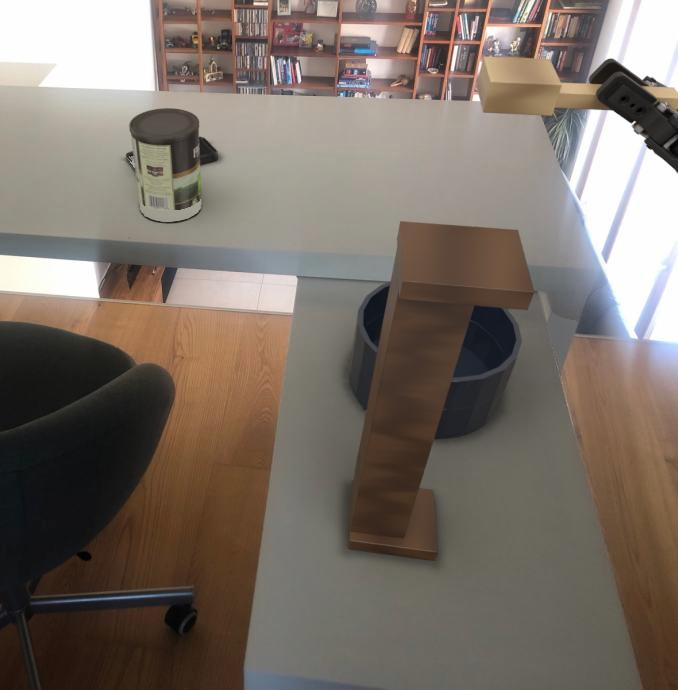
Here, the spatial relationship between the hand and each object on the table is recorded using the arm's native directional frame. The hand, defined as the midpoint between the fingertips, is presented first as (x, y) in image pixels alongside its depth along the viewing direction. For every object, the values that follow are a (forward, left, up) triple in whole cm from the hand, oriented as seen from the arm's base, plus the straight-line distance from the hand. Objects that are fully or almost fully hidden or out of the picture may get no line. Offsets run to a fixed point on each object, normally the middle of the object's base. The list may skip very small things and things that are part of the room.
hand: (603, 77), depth 52 cm
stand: (+10, +16, -38) cm, 42 cm away
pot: (+6, -4, -38) cm, 39 cm away
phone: (+47, -53, -38) cm, 81 cm away
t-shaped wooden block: (+2, 0, -2) cm, 3 cm away
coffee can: (+44, -38, -38) cm, 70 cm away
